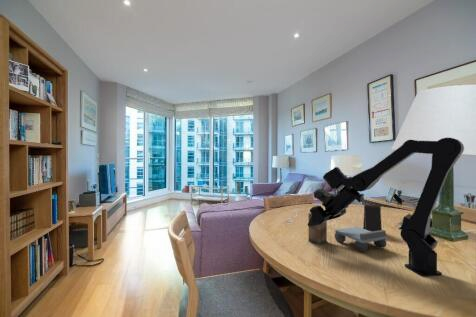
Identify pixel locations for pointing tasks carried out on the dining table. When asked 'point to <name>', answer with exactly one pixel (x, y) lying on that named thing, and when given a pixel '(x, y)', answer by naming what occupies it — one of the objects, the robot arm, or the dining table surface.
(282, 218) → the dining table surface
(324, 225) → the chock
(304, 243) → the dining table surface
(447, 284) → the dining table surface
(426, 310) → the dining table surface
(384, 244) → the dolly
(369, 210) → the door stopper
